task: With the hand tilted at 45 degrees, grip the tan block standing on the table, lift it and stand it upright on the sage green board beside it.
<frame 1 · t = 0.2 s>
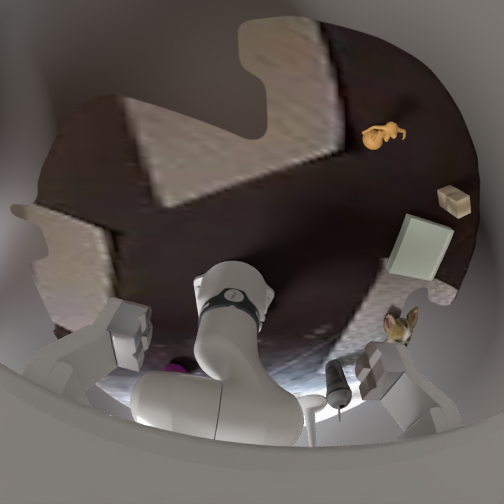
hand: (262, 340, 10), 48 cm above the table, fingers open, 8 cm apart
christmas ornament: (177, 366, 82), on the table
candlestick: (308, 403, 90), on the table
figurine: (369, 133, 49), on the table
tan block: (444, 195, 54), on the table
ceramic sculpture: (395, 324, 72), on the table
sage board: (418, 247, 60), on the table
beverage cup: (332, 364, 79), on the table
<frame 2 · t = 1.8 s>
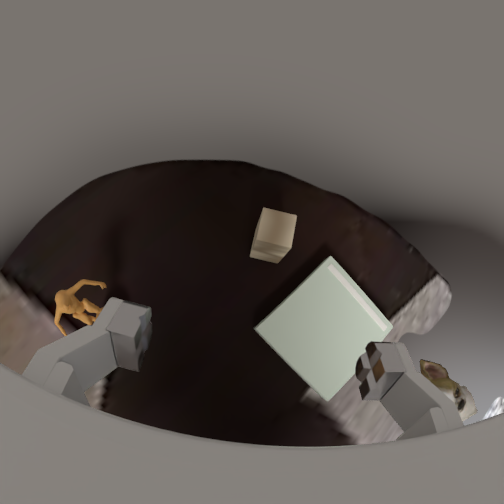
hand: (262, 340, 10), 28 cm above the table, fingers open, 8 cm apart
figurine: (110, 316, 35), on the table
tan block: (266, 246, 40), on the table
ceramic sculpture: (428, 397, 37), on the table
sage board: (324, 329, 38), on the table
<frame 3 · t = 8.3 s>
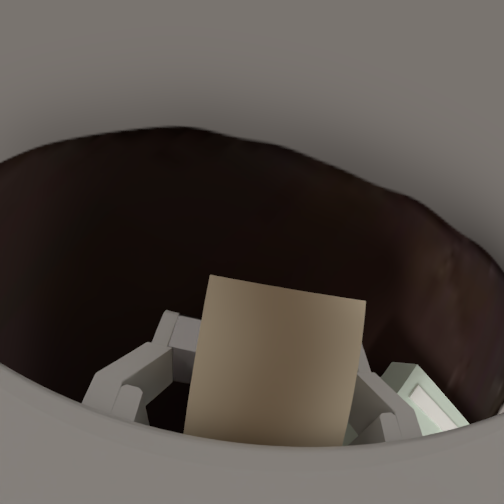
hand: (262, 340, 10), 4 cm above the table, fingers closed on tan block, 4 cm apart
tan block: (247, 350, 14), on the table, touching gripper
sage board: (379, 495, 12), on the table
when the fingers open (8 cm above the table, at t = 17.9 s): tan block stays where it is, resting on sage board.
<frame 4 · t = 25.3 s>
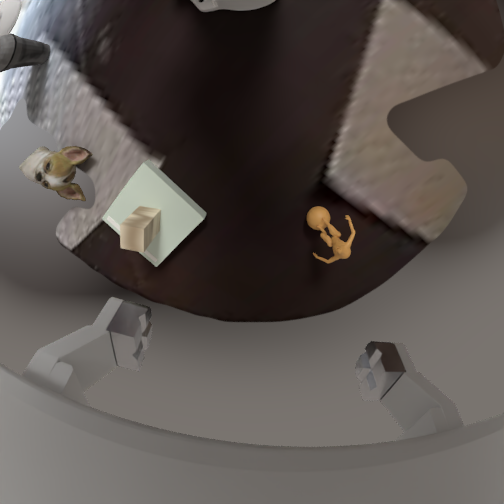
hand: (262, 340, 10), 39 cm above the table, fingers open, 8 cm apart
candlestick: (4, 19, 26), on the table
figurine: (320, 216, 49), on the table
tan block: (149, 218, 47), point 2 cm above the table, touching sage board
ceramic sculpture: (66, 165, 45), on the table
sage board: (153, 213, 50), on the table
beverage cup: (43, 54, 33), on the table
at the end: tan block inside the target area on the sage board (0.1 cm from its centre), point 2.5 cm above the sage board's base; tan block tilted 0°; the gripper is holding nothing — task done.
